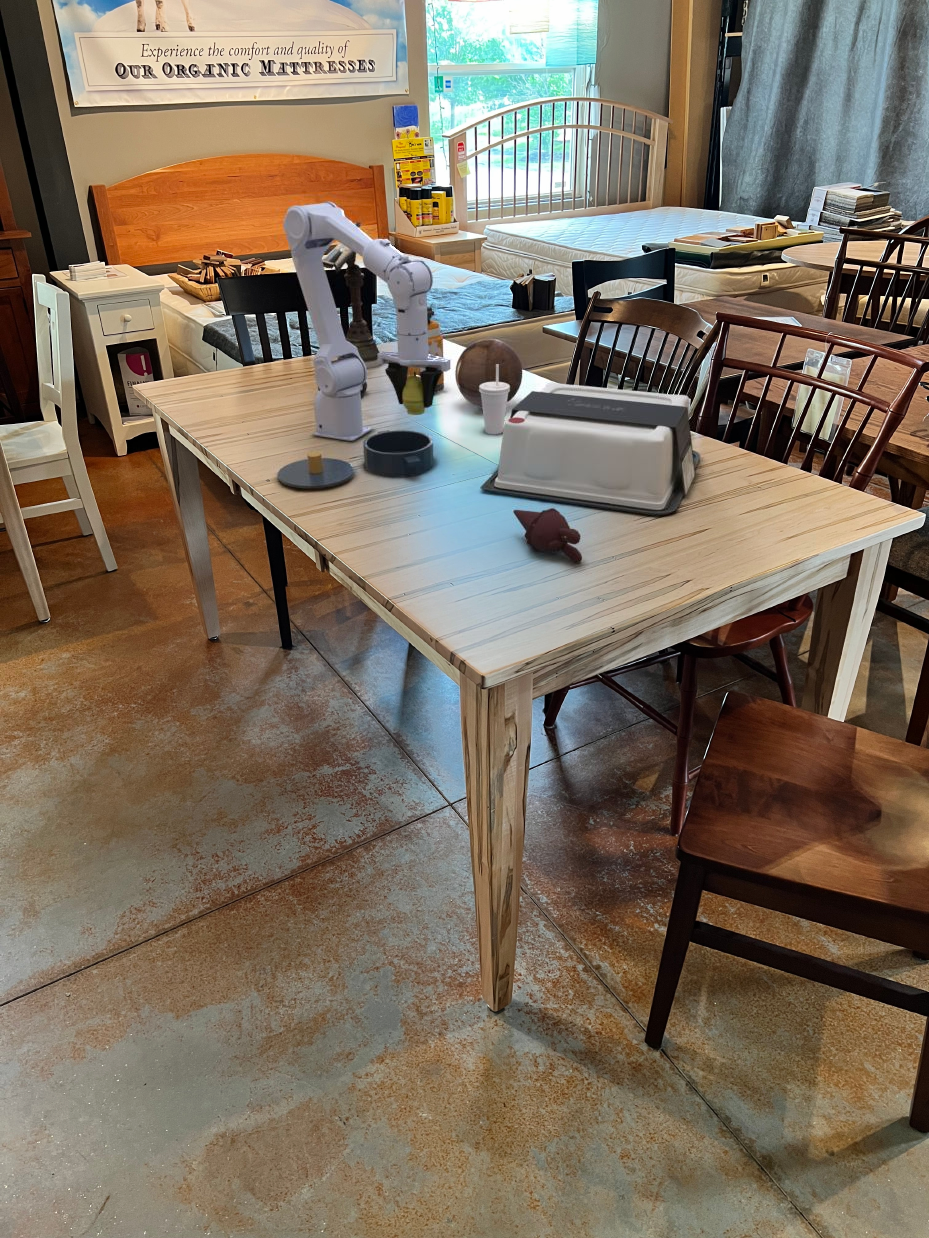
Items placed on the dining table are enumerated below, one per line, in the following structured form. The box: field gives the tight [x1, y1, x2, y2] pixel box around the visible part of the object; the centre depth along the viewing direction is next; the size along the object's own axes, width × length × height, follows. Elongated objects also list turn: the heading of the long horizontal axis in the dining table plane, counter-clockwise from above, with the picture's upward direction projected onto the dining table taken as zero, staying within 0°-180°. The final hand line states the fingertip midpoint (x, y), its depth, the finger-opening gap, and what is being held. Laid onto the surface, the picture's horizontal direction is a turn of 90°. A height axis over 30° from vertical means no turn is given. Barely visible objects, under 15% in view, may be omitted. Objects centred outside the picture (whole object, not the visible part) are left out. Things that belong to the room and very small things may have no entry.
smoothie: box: [479, 364, 510, 435], centre depth 180 cm, size 6×6×14 cm
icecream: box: [512, 507, 583, 564], centre depth 133 cm, size 7×7×15 cm
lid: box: [277, 451, 355, 489], centre depth 161 cm, size 14×14×4 cm
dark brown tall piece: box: [322, 221, 381, 369], centre depth 221 cm, size 17×13×35 cm
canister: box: [407, 306, 445, 395], centre depth 205 cm, size 9×11×20 cm
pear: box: [402, 371, 426, 416], centre depth 166 cm, size 5×5×8 cm
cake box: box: [480, 382, 701, 516], centre depth 159 cm, size 35×33×12 cm
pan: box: [362, 429, 434, 478], centre depth 166 cm, size 13×19×4 cm
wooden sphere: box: [454, 338, 523, 409], centre depth 194 cm, size 15×15×15 cm
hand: (415, 404), depth 167 cm, fingers closed on pear, 5 cm apart
